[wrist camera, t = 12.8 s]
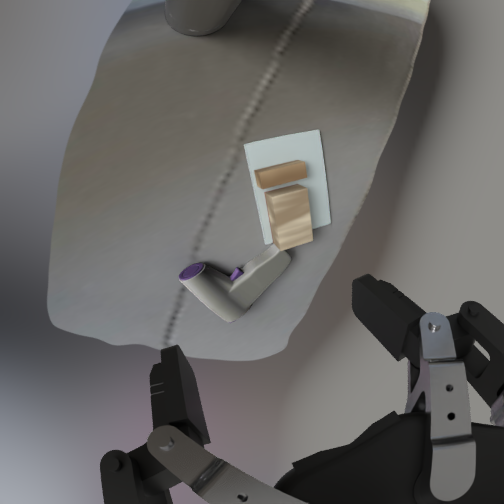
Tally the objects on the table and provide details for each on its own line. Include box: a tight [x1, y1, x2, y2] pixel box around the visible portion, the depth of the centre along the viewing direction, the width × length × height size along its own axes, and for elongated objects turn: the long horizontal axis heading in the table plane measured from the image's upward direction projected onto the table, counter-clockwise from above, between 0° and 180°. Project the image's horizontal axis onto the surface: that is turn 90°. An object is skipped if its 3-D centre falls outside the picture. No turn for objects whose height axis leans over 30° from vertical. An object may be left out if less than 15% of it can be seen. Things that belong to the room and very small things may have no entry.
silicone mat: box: [244, 130, 331, 245], centre depth 41 cm, size 16×12×1 cm
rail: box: [254, 160, 307, 189], centre depth 38 cm, size 2×7×2 cm, turn 102°
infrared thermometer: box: [179, 243, 292, 323], centre depth 43 cm, size 5×12×15 cm
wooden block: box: [264, 184, 313, 251], centre depth 41 cm, size 3×6×8 cm
